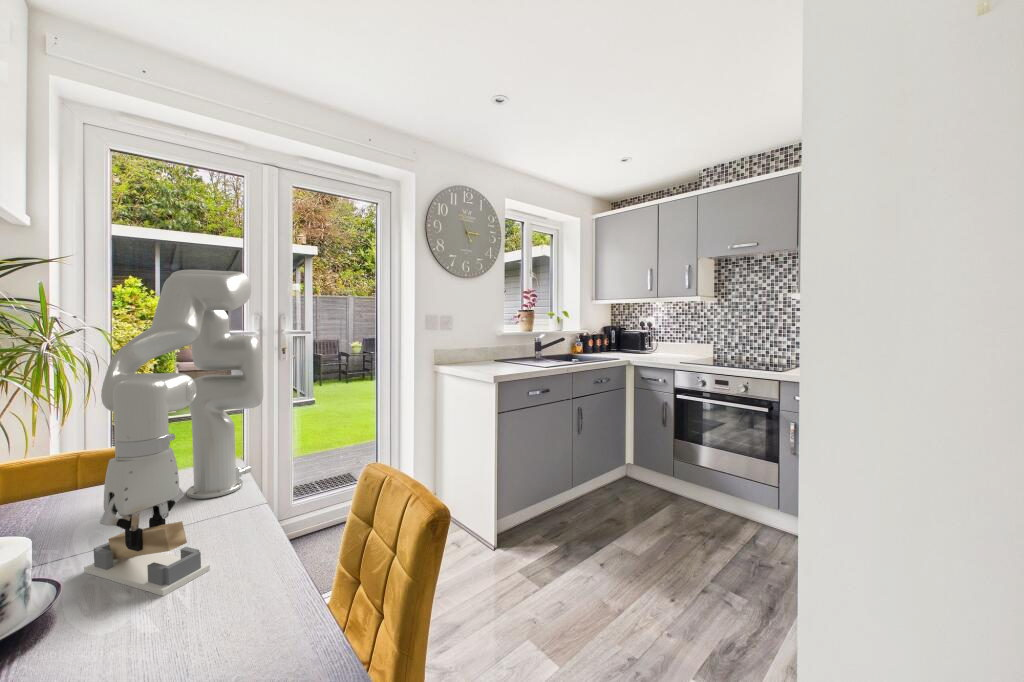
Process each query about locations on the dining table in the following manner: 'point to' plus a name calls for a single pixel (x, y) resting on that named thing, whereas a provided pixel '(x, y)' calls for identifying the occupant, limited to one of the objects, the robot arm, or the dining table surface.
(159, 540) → the slat
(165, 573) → the mounting board
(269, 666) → the dining table surface
